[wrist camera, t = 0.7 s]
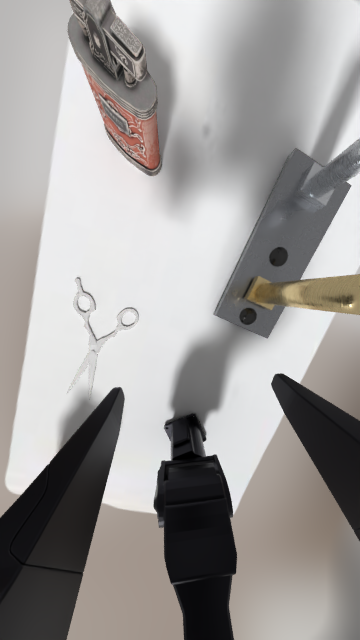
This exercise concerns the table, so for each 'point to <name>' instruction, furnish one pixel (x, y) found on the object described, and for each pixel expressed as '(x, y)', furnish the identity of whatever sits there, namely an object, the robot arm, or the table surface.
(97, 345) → the scissors
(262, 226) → the bolt plate
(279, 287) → the gold tapered block
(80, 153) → the table surface
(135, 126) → the lighter
